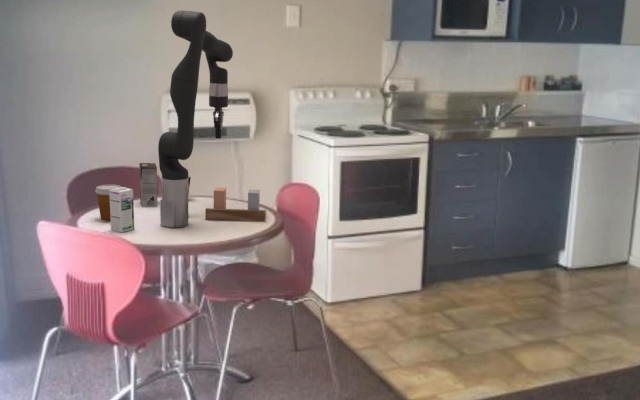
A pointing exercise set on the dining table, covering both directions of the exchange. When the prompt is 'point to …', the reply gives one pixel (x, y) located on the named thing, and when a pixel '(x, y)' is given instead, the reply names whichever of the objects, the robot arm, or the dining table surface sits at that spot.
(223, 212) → the brown wooden flat block
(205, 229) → the dining table surface
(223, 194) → the terracotta plug
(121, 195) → the syrup box
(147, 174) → the coffee box
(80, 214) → the dining table surface
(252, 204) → the slate plug
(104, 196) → the disposable coffee cup
